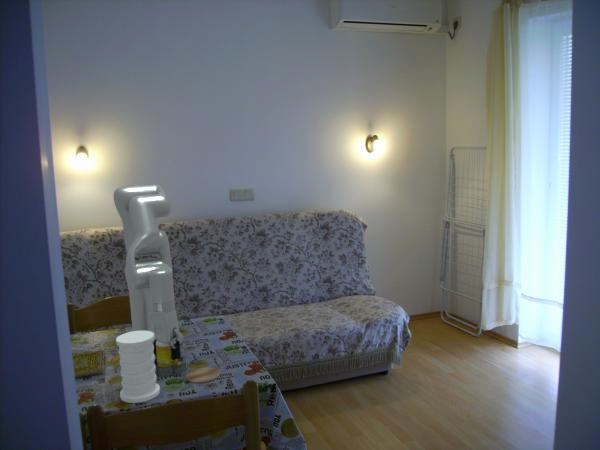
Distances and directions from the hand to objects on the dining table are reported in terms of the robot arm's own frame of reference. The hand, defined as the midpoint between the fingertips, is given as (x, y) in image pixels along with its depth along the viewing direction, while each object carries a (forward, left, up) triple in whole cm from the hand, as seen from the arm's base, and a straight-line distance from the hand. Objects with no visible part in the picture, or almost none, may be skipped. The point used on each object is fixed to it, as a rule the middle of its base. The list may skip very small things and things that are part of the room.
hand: (167, 355), depth 180 cm
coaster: (+15, +2, -4) cm, 16 cm away
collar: (0, 0, -4) cm, 4 cm away
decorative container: (+8, -17, -5) cm, 20 cm away
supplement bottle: (0, 0, -5) cm, 5 cm away
